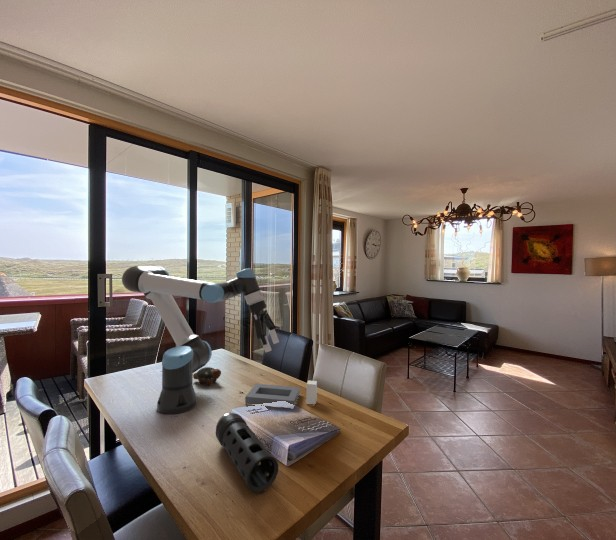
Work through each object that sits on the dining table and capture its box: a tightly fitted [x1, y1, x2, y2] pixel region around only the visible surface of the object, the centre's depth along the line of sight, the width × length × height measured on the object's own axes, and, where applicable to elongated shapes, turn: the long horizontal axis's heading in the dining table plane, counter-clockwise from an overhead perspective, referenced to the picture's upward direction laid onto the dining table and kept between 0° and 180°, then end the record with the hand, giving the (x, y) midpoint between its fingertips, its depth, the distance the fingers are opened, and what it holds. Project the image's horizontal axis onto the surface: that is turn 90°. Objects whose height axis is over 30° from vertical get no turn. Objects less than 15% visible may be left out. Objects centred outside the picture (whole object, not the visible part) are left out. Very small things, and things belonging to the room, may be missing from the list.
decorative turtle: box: [193, 366, 222, 387], centre depth 148 cm, size 10×15×8 cm, turn 80°
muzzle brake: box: [215, 412, 279, 494], centre depth 89 cm, size 10×28×10 cm, turn 34°
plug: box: [305, 380, 318, 404], centre depth 129 cm, size 4×4×9 cm
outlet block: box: [244, 383, 301, 406], centre depth 132 cm, size 21×14×4 cm, turn 82°
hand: (272, 347), depth 132 cm, fingers open, 13 cm apart
